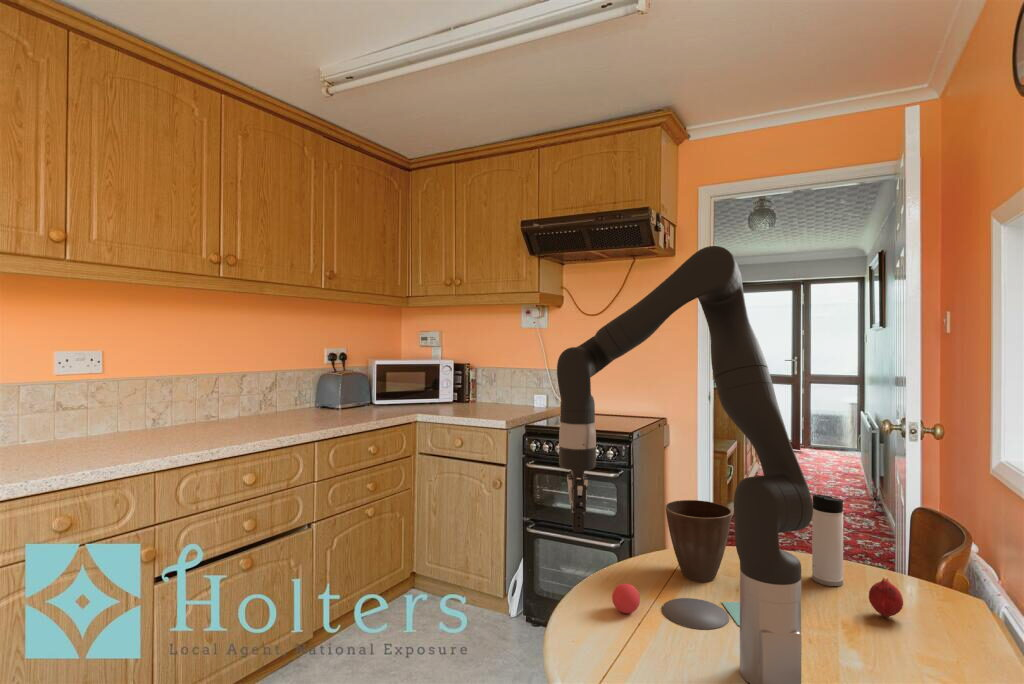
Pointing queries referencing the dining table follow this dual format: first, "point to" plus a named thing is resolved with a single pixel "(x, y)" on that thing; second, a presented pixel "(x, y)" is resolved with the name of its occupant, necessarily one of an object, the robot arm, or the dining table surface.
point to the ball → (626, 598)
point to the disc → (695, 613)
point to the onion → (885, 598)
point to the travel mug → (827, 540)
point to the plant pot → (698, 536)
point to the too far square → (733, 610)
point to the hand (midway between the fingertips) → (577, 526)
